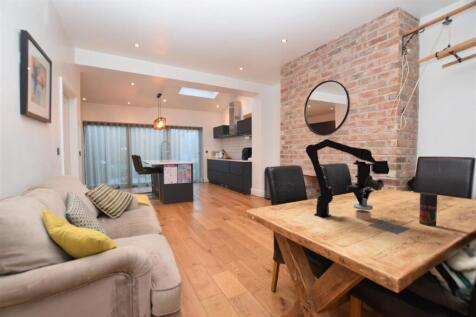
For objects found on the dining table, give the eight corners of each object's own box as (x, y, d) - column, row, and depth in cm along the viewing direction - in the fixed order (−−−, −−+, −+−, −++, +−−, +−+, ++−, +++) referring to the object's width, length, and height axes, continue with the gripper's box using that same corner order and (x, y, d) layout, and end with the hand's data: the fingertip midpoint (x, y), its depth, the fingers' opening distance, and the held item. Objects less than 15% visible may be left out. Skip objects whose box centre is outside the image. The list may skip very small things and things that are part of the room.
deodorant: (419, 222, 104) (419, 191, 103) (435, 225, 100) (436, 193, 99) (419, 226, 99) (420, 194, 98) (436, 229, 95) (437, 195, 95)
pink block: (365, 222, 104) (366, 214, 104) (352, 218, 110) (353, 211, 110) (372, 219, 108) (373, 212, 108) (359, 216, 113) (360, 209, 113)
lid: (367, 210, 103) (367, 201, 103) (350, 206, 110) (350, 198, 110) (376, 208, 107) (376, 199, 107) (359, 204, 115) (359, 196, 114)
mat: (397, 235, 88) (397, 234, 88) (367, 226, 98) (367, 225, 98) (410, 229, 94) (410, 228, 94) (380, 222, 105) (380, 220, 105)
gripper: (370, 176, 96) (369, 210, 97) (390, 174, 106) (389, 205, 107) (346, 174, 106) (346, 205, 106) (367, 172, 115) (366, 200, 116)
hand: (362, 204), depth 109 cm, fingers closed on lid, 3 cm apart
